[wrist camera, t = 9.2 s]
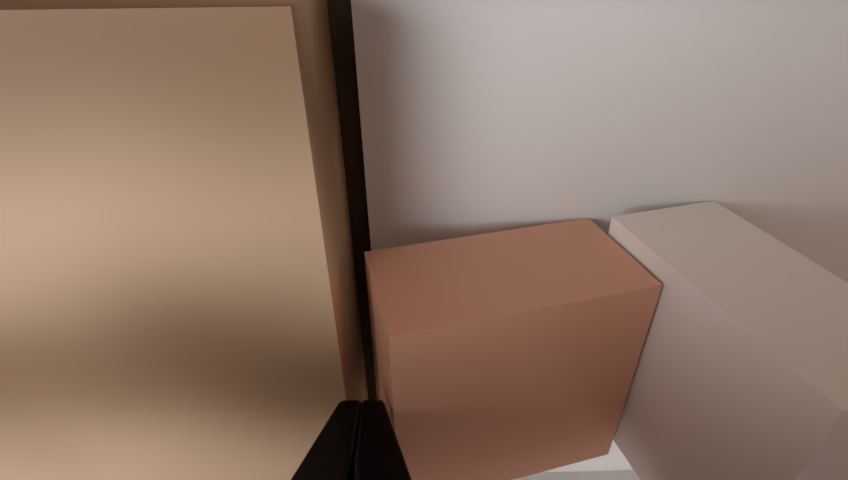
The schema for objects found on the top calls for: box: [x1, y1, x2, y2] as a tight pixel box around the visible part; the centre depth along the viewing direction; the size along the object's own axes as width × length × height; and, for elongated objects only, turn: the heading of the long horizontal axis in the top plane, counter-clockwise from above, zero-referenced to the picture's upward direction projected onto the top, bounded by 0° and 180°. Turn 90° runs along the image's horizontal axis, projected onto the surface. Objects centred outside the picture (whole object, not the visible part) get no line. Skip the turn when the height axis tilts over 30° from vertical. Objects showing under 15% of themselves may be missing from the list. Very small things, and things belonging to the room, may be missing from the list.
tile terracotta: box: [364, 218, 662, 480], centre depth 11 cm, size 5×5×2 cm
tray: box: [351, 0, 848, 480], centre depth 12 cm, size 16×14×2 cm
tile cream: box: [608, 201, 848, 480], centre depth 10 cm, size 5×5×2 cm
